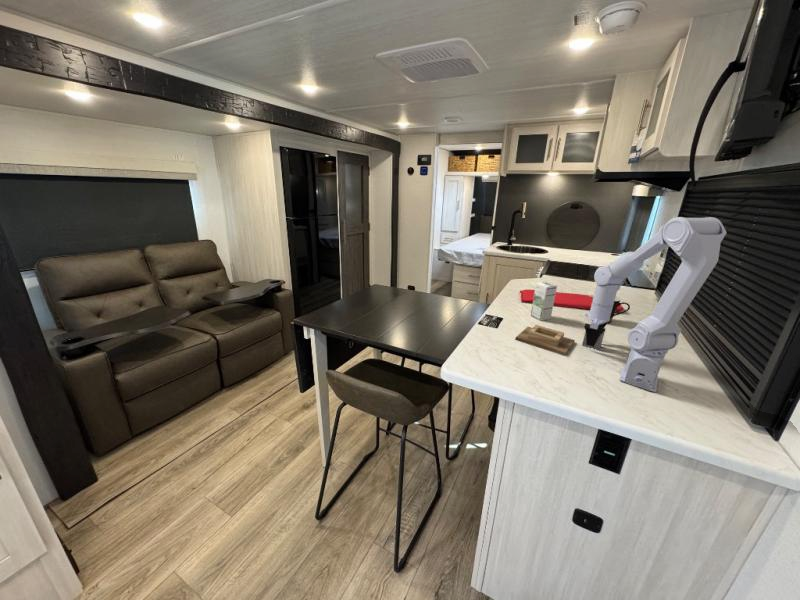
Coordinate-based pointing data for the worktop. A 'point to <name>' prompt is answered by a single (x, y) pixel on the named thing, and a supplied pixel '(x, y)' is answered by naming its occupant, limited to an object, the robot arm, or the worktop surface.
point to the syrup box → (543, 300)
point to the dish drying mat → (564, 299)
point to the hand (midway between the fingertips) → (592, 341)
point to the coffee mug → (615, 305)
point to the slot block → (546, 339)
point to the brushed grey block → (598, 343)
